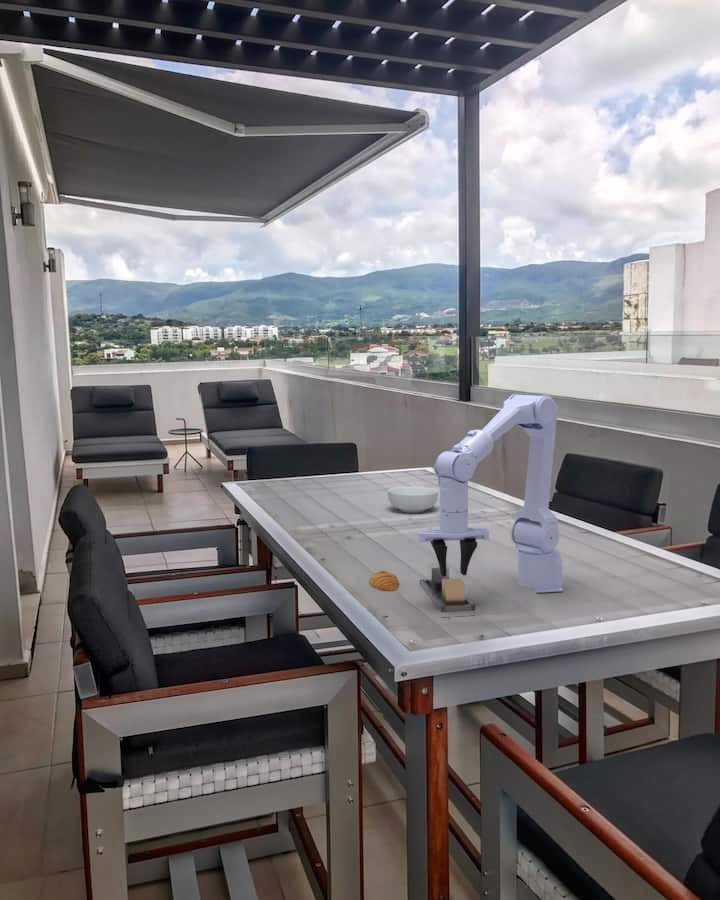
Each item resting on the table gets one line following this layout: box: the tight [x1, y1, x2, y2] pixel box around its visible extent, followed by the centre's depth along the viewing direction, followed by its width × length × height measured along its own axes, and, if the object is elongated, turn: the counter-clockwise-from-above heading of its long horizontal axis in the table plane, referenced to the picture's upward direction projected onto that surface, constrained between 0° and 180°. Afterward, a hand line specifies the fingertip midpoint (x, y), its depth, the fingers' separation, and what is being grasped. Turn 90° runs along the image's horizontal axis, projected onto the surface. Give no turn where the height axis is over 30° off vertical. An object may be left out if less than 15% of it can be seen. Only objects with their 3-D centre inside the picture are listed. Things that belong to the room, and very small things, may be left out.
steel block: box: [426, 562, 450, 592], centre depth 182 cm, size 4×6×5 cm
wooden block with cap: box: [442, 577, 466, 606], centre depth 171 cm, size 4×6×5 cm
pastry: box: [368, 570, 400, 592], centre depth 185 cm, size 9×7×4 cm
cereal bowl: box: [387, 485, 439, 514], centre depth 274 cm, size 17×17×7 cm
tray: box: [419, 577, 476, 619], centre depth 176 cm, size 7×20×2 cm, turn 9°
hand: (453, 574), depth 169 cm, fingers open, 4 cm apart
